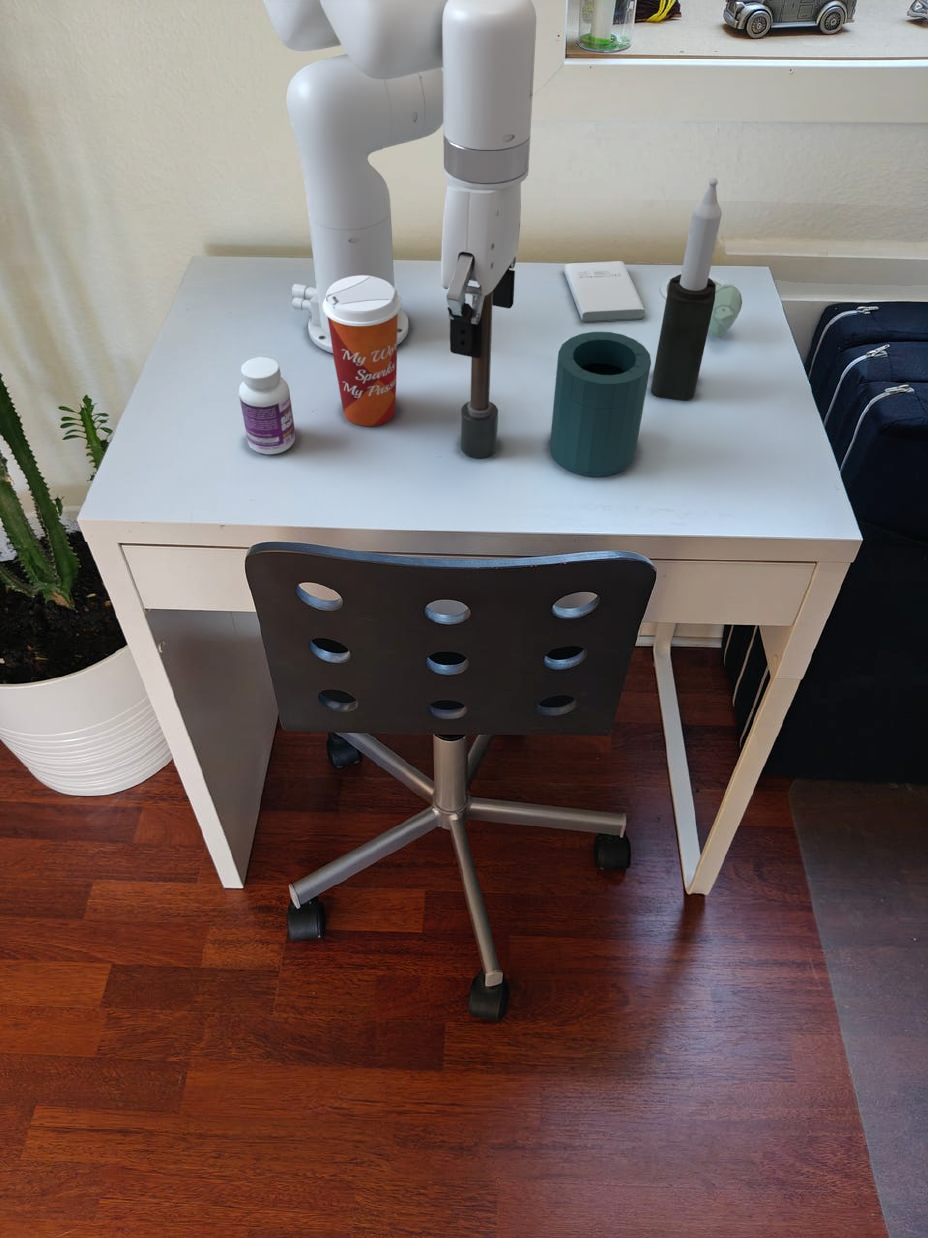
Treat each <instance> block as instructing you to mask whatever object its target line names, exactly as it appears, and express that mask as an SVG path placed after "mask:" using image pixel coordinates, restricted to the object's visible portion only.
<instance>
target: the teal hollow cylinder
mask: <svg viewBox="0 0 928 1238" xmlns="http://www.w3.org/2000/svg"><path fill="white" fill-rule="evenodd" d="M557 353H558V354H557V364H556V374H555V385H554V394H553V395H554V396H553V398H554V399H553V407H552V417H551V430H550V438H549V439H550V440H549V443H550V444H549V448H550V449H549V451H550V454H551V456H552V458H553V460H554V462H556V463H557V465H559V466H560V467H561V468H563V469H565V470H566V471H569V472H571V473H573V474H576V475H579V476H584V477H590V478H599V477H600V478H603V477H610V476H613V475H616V474H619V473H620V472H623V471H625V470H626V469H627V468H628V467H629V466H630V465H631V464H632V463H633V461H634V458H635V455H636V452H637V451H636V450H637V447H638V441H639V435H640V431H641V430H640V428H641V423H642V419H643V413H644V412H643V411H644V407H645V400H646V395H647V389H648V383H649V378H650V371H651V367H652V366H651V365H652V359H651V354H650V352H649V351H648V349H647V348H646V346H645V345H643V344H642V343H641V342H639V341H638V340H636V339H634V338H632V337H629V336H627V335H625V334H621V333H618V332H612V331H590V332H583V333H579V334H577V335H574V336H572V337H570V338H569V339H567V340H566V341H565V342H563V343H562V344H561V346H560V348H559V350H558V352H557Z"/></svg>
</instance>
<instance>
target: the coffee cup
mask: <svg viewBox="0 0 928 1238" xmlns="http://www.w3.org/2000/svg"><path fill="white" fill-rule="evenodd" d="M400 296H401V295H399V293H398V290H396V288H395V286H394V287H393V286H392V285H391V284H390V283H388V282H387V281H385V280H383V279H380V278H377V277H373V276H365V275H360V276H351V277H347V278H343V279H341V280H338V281H337V282H335V283H333V284H332V285H331V286H330V287H329V289H328V291H327V293H326V298H325V300H324V302H323V310H324V312H325V314H326V315H327V317H328V323H329V329H330V335H331V342H332V349H333V353H332V356H333V363H334V368H335V371H336V372H335V373H336V377H337V383H338V388H339V395H340V400H341V405H342V406H341V407H342V410H343V414H344V416H345V418H346V419H347V420H348V421H349V422H350V423H352V424H354V425H357V426H361V427H375V426H376V427H377V426H380V425H384V424H385V423H387V422H389V421H390V420H391V419H392V418H393V417H394V415H395V413H396V401H397V371H398V370H397V369H398V367H397V365H398V345H397V322H398V312H399V310H400V308H401V307H402V302H401V301H402V298H401V297H400Z"/></svg>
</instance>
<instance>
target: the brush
mask: <svg viewBox="0 0 928 1238" xmlns="http://www.w3.org/2000/svg"><path fill="white" fill-rule="evenodd" d="M478 288H479V286H478ZM471 297H472V298H471V299H472V300H471V301H472V303H471V307H472V309H473V306H474V302H475V297H476V296H475V295H471ZM493 307H494V306H493V291H492V292H490V293H489V294H488V295H485V297H484V302H483V306H482V311H481V315H480V319H484V326H483V354H482V356H481V357H480V358H474V357H470V400H469V401H467V402H465V403H464V404H463V405H462V407H461V409H460V450H461V452H462V453H463V454H464V455H465V456H467V457H469V458H472V459H486V458H489V457H491V456H493V455H494V454H495V453H496V452H497V448H498V447H497V446H498V427H499V425H498V424H499V409H498V407H497V405H496V404H494V402H491V401H490V392H491V391H490V390H491V361H492V335H493V333H492V332H493Z"/></svg>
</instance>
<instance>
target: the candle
mask: <svg viewBox="0 0 928 1238" xmlns="http://www.w3.org/2000/svg"><path fill="white" fill-rule="evenodd" d="M718 183H719V182H718V179H717V178H716V177H712V178H710V179H709V181H708V184H709V185H708V187H707V189H706V191H705V193H704V195H703V197H702V199H701V200H700V201H699V202H698V203H697V204H696V205H695V206H694V208H693V209H692V210H693V211H692V213H691V214H692V216H691V220H690V226H689V231H688V237H687V240H686V241H687V242H686V248H685V252H684V256H683V257H684V258H683V263H682V268H681V273H679V274H677V275H675V276H674V277H672V278H670V280H669V282H668V289H667V294H666V299H665V304H664V310H663V316H662V322H661V327H660V331H659V332H660V333H659V338H658V344H657V349H656V356H655V361H654V368H653V372H652V381H651V387H650V393H651V394H652V395H653V396H655V397H656V398H662V399H663V398H664V399H669V400H670V399H671V400H677V401H678V400H679V401H690V400H692V399H693V398H694V397H695V393H696V389H697V385H698V379H699V375H700V370H701V365H702V361H703V357H704V352H705V347H706V343H707V339H708V333H709V325H710V320H711V316H712V311H713V306H714V302H715V292H716V285H715V284H716V283H715V282H714V281H713V280H712V279H711V278H710V272H711V268H712V262H713V258H714V252H715V248H716V243H717V238H718V235H719V234H718V233H719V230H720V224H721V219H722V215H723V214H722V213H723V212H722V208H721V207H720V204H719V202H718V194H717V185H718Z"/></svg>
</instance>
